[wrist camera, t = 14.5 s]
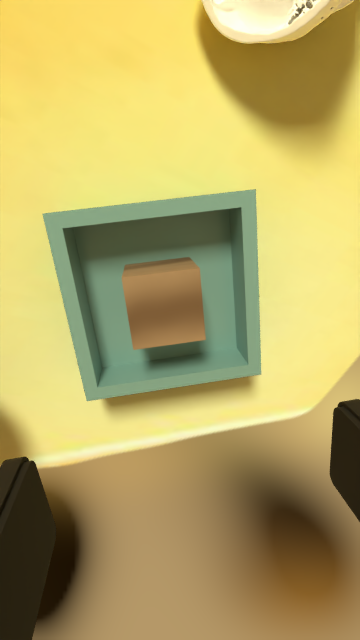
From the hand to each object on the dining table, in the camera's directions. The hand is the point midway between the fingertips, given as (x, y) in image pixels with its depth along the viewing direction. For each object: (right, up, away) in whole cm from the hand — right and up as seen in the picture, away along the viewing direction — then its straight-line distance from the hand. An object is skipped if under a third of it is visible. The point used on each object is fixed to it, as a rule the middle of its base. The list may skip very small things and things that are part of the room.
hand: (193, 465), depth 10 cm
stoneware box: (-2, +8, +23) cm, 24 cm away
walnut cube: (-2, +7, +22) cm, 23 cm away
